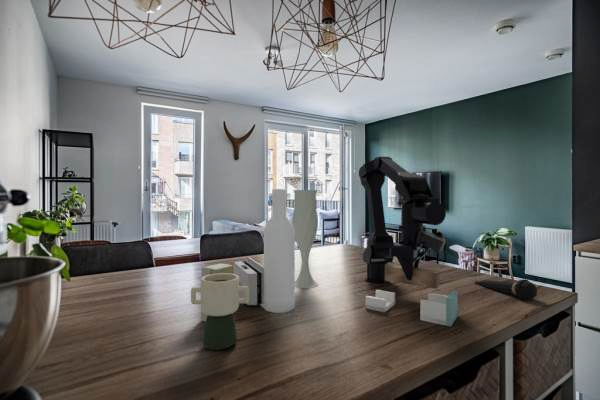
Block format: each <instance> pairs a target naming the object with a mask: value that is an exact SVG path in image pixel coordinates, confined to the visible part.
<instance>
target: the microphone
mask: <svg viewBox="0 0 600 400" xmlns="http://www.w3.org/2000/svg"><path fill="white" fill-rule="evenodd" d="M474 283H475V284H476V285H480V286H482V287H484V288H488V289H491V290H494V291H497V292H498V291H499V292H501V293H505V294H511V295H516V296H517V297H518V298H519V299H520V300H522V301H528V299H529V300H532V299H535V298H536V296H537V295H538V294H537V293H538V289H537V287H536V285H535V284H534V283H533V282H531V281H530V280H528V279H519V280H518V281H516V282H515V281H499V280H491V279H489V280H488V279H484V280H475V281H474Z"/></svg>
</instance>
